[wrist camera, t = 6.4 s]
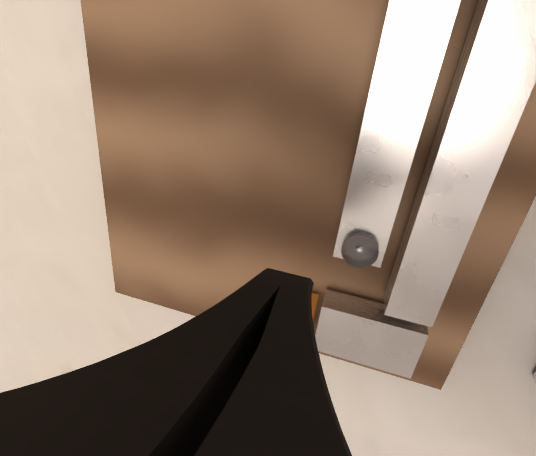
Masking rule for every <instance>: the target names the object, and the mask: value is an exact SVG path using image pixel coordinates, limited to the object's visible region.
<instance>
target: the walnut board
mask: <svg viewBox="0 0 536 456" xmlns="http://www.w3.org/2000/svg"><path fill="white" fill-rule="evenodd" d="M389 1H390V0H81V6H82V15H83V23H84V31H85V40H86V48H87V56H88V65H89V73H90V81H91V90H92V98H93V106H94V115H95V123H96V131H97V140H98V148H99V157H100V165H101V173H102V182H103V190H104V198H105V207H106V215H107V223H108V232H109V240H110V248H111V257H112V265H113V273H114V282H115V290H116V292H118V293H121V294H124V295H128V296H131V297H134V298H137V299H141V300H144V301H147V302H151V303H154V304H157V305H161V306H164V307H167V308H171V309H174V310H177V311H181V312H184V313H187V314H191V315H194V316H197V315H199V314H201V313H202V312H204V311H206V310H207V309H209V308H211V307H212V306H214V305H215V304H217V303H218V302H220V301H221V300H223V299H224V298H226V297H227V296H229V295H230V294H232V293H233V292H235V291H236V290H237V289H239V288H240V287H242V286H243V285H244V284H246V283H247V282H248V281H250V280H251V279H252V278H254V277H255V276H256V275H258V274H259V273H261V272H262V271H263V270H265V269H267V268H270V269H275V270H279V271H283V272H287V273H291V274H295V275H299V276H303V277H307V278H311V280H312V281H313V282H314V285H313V290H312V293H314V294H318V295H319V297H318V302H317V307H316V312H315V316H314V321H313V324H314V331H315V334H316V330H317V325H318V321H319V316H320V312H321V307H322V303H323V299H324V295H325V291H326V289H328V290H331V291H335V292H339V293H343V294H347V295H351V296H355V297H359V298H362V299H366V300H370V301H374V302H378V303H382V304H384V294H385V291H386V288H387V284H388V281H389V278H390V275H391V272H392V269H393V266H394V263H395V259H396V256H397V253H398V250H399V247H400V244H401V241H402V237H403V234H404V231H405V228H406V225H407V222H408V219H409V216H410V212H411V209H412V206H413V203H414V200H415V197H416V194H417V191H418V187H419V184H420V181H421V178H422V175H423V172H424V169H425V166H426V162H427V159H428V156H429V153H430V150H431V147H432V144H433V141H434V137H435V134H436V131H437V128H438V125H439V122H440V119H441V116H442V112H443V109H444V106H445V103H446V100H447V97H448V94H449V91H450V87H451V84H452V81H453V78H454V75H455V72H456V69H457V66H458V62H459V59H460V56H461V53H462V50H463V47H464V44H465V41H466V37H467V34H468V31H469V28H470V25H471V22H472V19H473V16H474V12H475V9H476V6H477V3H478V0H461V1H460V5H459V8H458V11H457V15H456V18H455V21H454V25H453V28H452V31H451V34H450V38H449V41H448V44H447V48H446V51H445V54H444V58H443V61H442V64H441V68H440V71H439V74H438V78H437V81H436V84H435V88H434V91H433V94H432V98H431V101H430V104H429V108H428V111H427V114H426V118H425V121H424V124H423V128H422V131H421V134H420V138H419V141H418V144H417V148H416V151H415V154H414V158H413V161H412V164H411V168H410V171H409V174H408V178H407V181H406V184H405V188H404V191H403V194H402V198H401V201H400V204H399V208H398V211H397V214H396V218H395V221H394V224H393V228H392V231H391V234H390V238H389V241H388V244H387V248H386V251H385V254H384V258H383V261H382V264H381V268H379V267H375V266H369V267H365V268H356V267H353V266H351V265H349V264H347V263H346V262H345V260H344V259H341V258H337V257H333V253H334V249H335V244H336V240H337V235H338V231H339V226H340V222H341V217H342V213H343V208H344V204H345V199H346V195H347V190H348V186H349V181H350V177H351V172H352V168H353V163H354V158H355V154H356V149H357V145H358V140H359V136H360V131H361V127H362V122H363V118H364V113H365V109H366V104H367V100H368V95H369V91H370V86H371V82H372V77H373V73H374V68H375V64H376V59H377V55H378V50H379V46H380V41H381V37H382V32H383V28H384V23H385V19H386V14H387V10H388V5H389ZM535 196H536V82H535V84H534V87H533V89H532V91H531V94H530V96H529V98H528V101H527V103H526V106H525V108H524V110H523V113H522V115H521V117H520V120H519V122H518V125H517V127H516V129H515V132H514V134H513V136H512V139H511V141H510V144H509V146H508V148H507V151H506V153H505V155H504V158H503V160H502V163H501V165H500V167H499V170H498V172H497V174H496V177H495V179H494V182H493V184H492V186H491V189H490V191H489V193H488V196H487V198H486V201H485V203H484V205H483V208H482V210H481V212H480V215H479V217H478V220H477V222H476V224H475V227H474V229H473V231H472V234H471V236H470V239H469V241H468V243H467V246H466V248H465V250H464V253H463V255H462V258H461V260H460V262H459V265H458V267H457V269H456V272H455V274H454V277H453V279H452V281H451V284H450V286H449V288H448V291H447V293H446V296H445V298H444V300H443V303H442V305H441V307H440V310H439V312H438V315H437V317H436V319H435V322H434V324H433V326H432V327H428V326H427V329H428V334H429V336H428V338H427V341H426V343H425V345H424V348H423V350H422V353H421V355H420V357H419V360H418V362H417V365H416V367H415V369H414V372H413V374H412V376H411V379H410V378H406V377H403V376H400V375H396V374H393V373H390V372H386V371H383V370H380V369H376V368H373V367H370V366H366V365H363V364H360V363H356V362H353V361H350V360H346V359H343V358H340V357H336V356H333V355H330V354H326V353H323V352H320V351H318V353H321V354H324V355H327V356H331V357H334V358H337V359H341V360H344V361H347V362H351V363H354V364H357V365H360V366H364V367H367V368H370V369H374V370H377V371H380V372H384V373H387V374H390V375H394V376H397V377H400V378H404V379H407V380H410V381H414V382H417V383H420V384H424V385H427V386H430V387H434V388H437V389H440V390H441V388H442V386H443V384H444V382H445V380H446V378H447V376H448V374H449V372H450V370H451V368H452V366H453V364H454V362H455V360H456V358H457V356H458V354H459V352H460V350H461V347H462V345H463V343H464V341H465V339H466V337H467V335H468V333H469V331H470V329H471V327H472V325H473V323H474V321H475V319H476V317H477V315H478V313H479V311H480V309H481V307H482V305H483V303H484V300H485V298H486V296H487V294H488V292H489V290H490V288H491V286H492V284H493V282H494V280H495V278H496V276H497V274H498V272H499V270H500V268H501V266H502V264H503V262H504V260H505V258H506V255H507V253H508V251H509V249H510V247H511V245H512V243H513V241H514V239H515V237H516V235H517V233H518V231H519V229H520V227H521V225H522V223H523V221H524V219H525V217H526V215H527V213H528V210H529V208H530V206H531V204H532V202H533V200H534V198H535Z"/></svg>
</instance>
